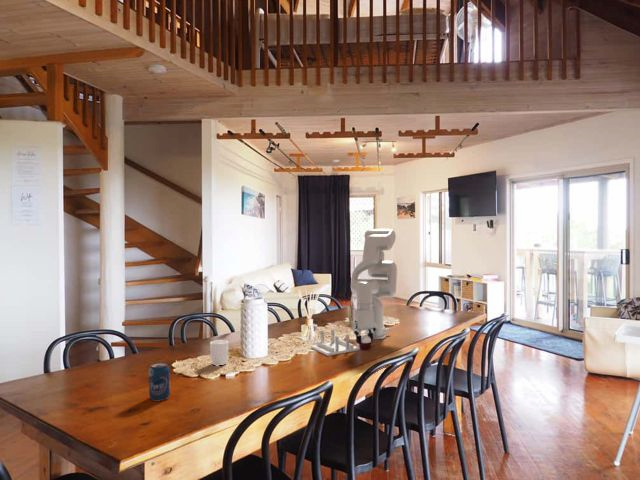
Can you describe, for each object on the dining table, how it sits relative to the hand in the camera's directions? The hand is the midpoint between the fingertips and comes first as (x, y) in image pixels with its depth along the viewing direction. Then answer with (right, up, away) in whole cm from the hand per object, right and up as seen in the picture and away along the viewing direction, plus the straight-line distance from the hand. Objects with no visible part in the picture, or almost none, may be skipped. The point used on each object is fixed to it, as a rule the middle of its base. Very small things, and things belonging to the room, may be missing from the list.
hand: (364, 342), depth 217 cm
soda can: (-79, -6, -60) cm, 100 cm away
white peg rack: (-15, -3, 0) cm, 15 cm away
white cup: (-67, -5, -22) cm, 71 cm away
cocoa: (0, -3, 0) cm, 3 cm away
